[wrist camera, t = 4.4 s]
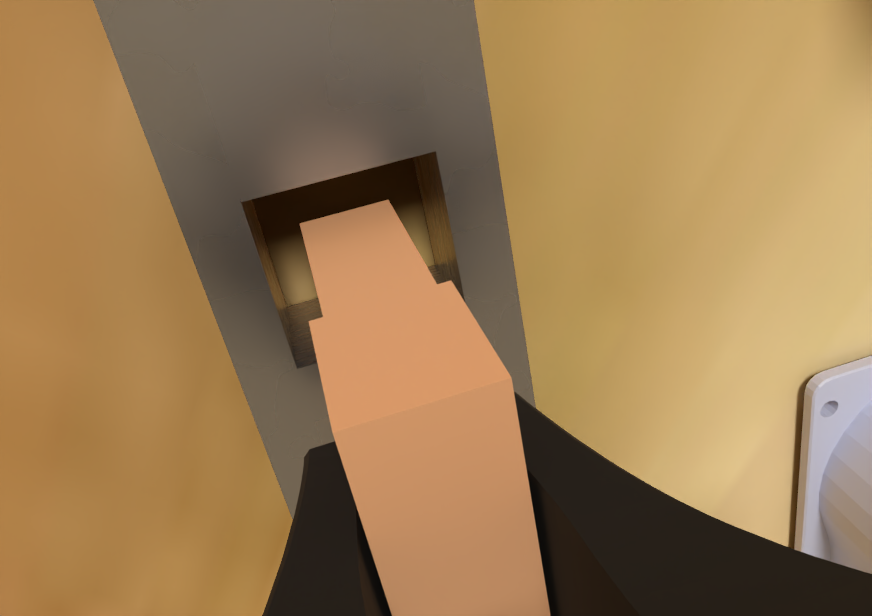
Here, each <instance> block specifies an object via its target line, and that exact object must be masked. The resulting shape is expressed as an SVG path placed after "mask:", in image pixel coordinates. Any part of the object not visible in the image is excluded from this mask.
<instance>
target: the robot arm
mask: <svg viewBox="0 0 872 616" xmlns="http://www.w3.org/2000/svg"><path fill="white" fill-rule="evenodd" d="M514 396H515V402H516V408H517V414H518V420H519V426H520V432H521V438H522V444H523V450H524V457H525V463H526V469H527V475H528V481H529V487H530V493H531V499H532V505H533V512H534V518H535V524H536V530H537V536H538V542H539V548H540V554H541V560H542V566H543V573H544V579H545V585H546V591H547V597H548V603H549V609H550V615H551V616H872V356H869V357H866V358H863V359H859V360H856V361H853V362H850V363H847V364H844V365H841V366H838V367H835V368H831V369H828V370H825V371H822V372H820V373H818V374H816V375H815V376H813V377H812V378H811V379H810V380H809V382H808V384H807V385H806V389H805V394H804V409H803V424H802V440H801V455H800V470H799V486H798V501H797V516H796V532H795V547H794V549H792V548H789V547H786V546H783V545H781V544H778V543H776V542H773V541H770V540H768V539H765V538H763V537H760V536H758V535H755V534H752V533H750V532H747V531H745V530H742V529H740V528H737V527H734V526H732V525H730V524H727V523H725V522H723V521H720V520H718V519H716V518H714V517H711V516H709V515H707V514H705V513H703V512H701V511H699V510H697V509H695V508H693V507H690V506H688V505H686V504H684V503H682V502H680V501H678V500H676V499H675V498H673V497H671V496H669V495H667V494H665V493H663V492H661V491H660V490H658V489H656V488H654V487H652V486H651V485H649V484H647V483H645V482H644V481H642V480H640V479H639V478H637V477H635V476H634V475H632V474H630V473H628V472H627V471H625V470H623V469H622V468H620V467H619V466H617V465H615V464H614V463H612V462H611V461H609V460H607V459H606V458H604V457H603V456H601V455H600V454H598V453H597V452H596V451H594V450H593V449H591V448H590V447H588V446H587V445H585V444H584V443H582V442H581V441H579V440H578V439H576V438H575V437H573V436H572V435H571V434H569V433H568V432H566V431H565V430H564V429H562V428H561V427H560V426H558V425H557V424H556V423H554V422H553V421H552V420H550V419H549V418H547V417H546V416H545V415H544V414H542V413H541V412H540V411H538V410H537V409H536V408H535V407H533V406H532V405H531V404H530V403H528V402H527V401H526V400H525V399H523V398H522V397H521V396H520V395H518V394H517V393H516V392H514ZM262 616H392V614H391V611H390V608H389V605H388V602H387V599H386V596H385V593H384V589H383V586H382V583H381V580H380V577H379V574H378V571H377V568H376V565H375V562H374V559H373V556H372V553H371V550H370V546H369V543H368V540H367V537H366V534H365V531H364V528H363V525H362V522H361V519H360V516H359V513H358V510H357V507H356V503H355V500H354V497H353V494H352V491H351V488H350V485H349V482H348V479H347V476H346V473H345V470H344V467H343V464H342V460H341V457H340V454H339V451H338V448H337V445H336V442H335V441H334V442H331V443H328V444H325V445H321V446H318V447H315V448H312V449H309V451H308V452H307V454H306V455H305V457H304V466H303V474H302V480H301V486H300V491H299V496H298V501H297V505H296V510H295V514H294V518H293V522H292V526H291V529H290V533H289V537H288V540H287V544H286V547H285V551H284V555H283V558H282V561H281V564H280V567H279V570H278V573H277V576H276V579H275V582H274V584H273V587H272V590H271V593H270V596H269V599H268V602H267V605H266V607H265V610H264V613H263V615H262Z"/></svg>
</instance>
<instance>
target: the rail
mask: <svg viewBox="0 0 872 616" xmlns="http://www.w3.org/2000/svg"><path fill="white" fill-rule="evenodd" d="M93 1H94V3H95V6H96V8H97V11H98V14H99V16H100V19H101V21H102V24H103V27H104V29H105V32H106V34H107V37H108V40H109V42H110V45H111V47H112V50H113V53H114V55H115V58H116V60H117V63H118V66H119V68H120V71H121V73H122V76H123V79H124V81H125V84H126V87H127V89H128V92H129V94H130V97H131V100H132V102H133V105H134V107H135V110H136V113H137V115H138V118H139V120H140V123H141V126H142V128H143V131H144V133H145V136H146V139H147V141H148V144H149V146H150V149H151V152H152V154H153V157H154V159H155V162H156V165H157V167H158V170H159V172H160V175H161V178H162V180H163V183H164V185H165V188H166V191H167V193H168V196H169V199H170V201H171V204H172V206H173V209H174V212H175V214H176V217H177V219H178V222H179V225H180V227H181V230H182V232H183V235H184V238H185V240H186V243H187V245H188V248H189V251H190V253H191V256H192V258H193V261H194V264H195V266H196V269H197V271H198V274H199V277H200V279H201V282H202V284H203V287H204V290H205V292H206V295H207V297H208V300H209V303H210V305H211V308H212V311H213V313H214V316H215V318H216V321H217V324H218V326H219V329H220V331H221V334H222V337H223V339H224V342H225V344H226V347H227V350H228V352H229V355H230V357H231V360H232V363H233V365H234V368H235V370H236V373H237V376H238V378H239V381H240V383H241V386H242V389H243V391H244V394H245V396H246V399H247V402H248V404H249V407H250V409H251V412H252V415H253V417H254V420H255V423H256V425H257V428H258V430H259V433H260V436H261V438H262V441H263V443H264V446H265V449H266V451H267V454H268V456H269V459H270V462H271V464H272V467H273V469H274V472H275V475H276V477H277V480H278V482H279V485H280V488H281V490H282V493H283V495H284V498H285V501H286V503H287V506H288V508H289V511H290V514H291V516H292V519H293V518H294V514H295V510H296V505H297V501H298V496H299V491H300V486H301V480H302V474H303V466H304V457H305V455H306V454H307V452H308V451H309V449H312V448H315V447H318V446H321V445H325V444H328V443H331V442H334V441H335V439H334V436H333V433H332V428H331V424H330V419H329V414H328V410H327V405H326V400H325V396H324V391H323V386H322V382H321V377H320V372H319V368H318V363H317V358H316V354H315V349H314V344H313V340H312V335H311V330H310V326H309V321H311V320H315V319H318V318H322V317H323V315H322V311H321V307H320V303H319V299H318V298H317V299H313V300H310V301H306V302H303V303H299V304H296V305H292V306H289V307H287V305H286V302H285V299H284V296H283V293H282V290H281V287H280V284H279V281H278V278H277V275H276V272H275V269H274V266H273V263H272V260H271V256H270V253H269V250H268V247H267V244H266V241H265V238H264V235H263V232H262V229H261V226H260V223H259V220H258V217H257V214H256V211H255V208H254V205H253V201H252V199H256V198H259V197H263V196H267V195H271V194H275V193H278V192H282V191H286V190H290V189H294V188H297V187H301V186H305V185H309V184H313V183H316V182H320V181H324V180H328V179H332V178H335V177H339V176H343V175H347V174H351V173H355V172H358V171H362V170H366V169H370V168H374V167H377V166H381V165H385V164H389V163H393V162H396V161H400V160H404V159H408V158H412V157H413V160H414V165H415V170H416V174H417V179H418V184H419V189H420V194H421V198H422V203H423V208H424V213H425V218H426V222H427V227H428V232H429V237H430V241H431V246H432V251H433V256H434V261H435V265H434V266H430V267H428V269H429V271H430V273H431V274H432V276H433V278H434V280H435V281H436V283H437V284H440V283H444V282H447V281H452V282H453V284H454V286H455V287H456V289H457V291H458V292H459V294H460V295H461V297H462V299H463V300H464V302H465V303H466V305H467V307H468V308H469V310H470V311H471V313H472V315H473V316H474V318H475V320H476V321H477V323H478V324H479V326H480V328H481V329H482V331H483V332H484V334H485V336H486V337H487V339H488V340H489V342H490V344H491V345H492V347H493V349H494V350H495V352H496V353H497V355H498V357H499V358H500V360H501V361H502V363H503V365H504V366H505V368H506V369H507V371H508V373H509V374H510V376H511V378H512V383H513V389H514V392H516V393H517V394H518V395H520V396H521V397H522V398H523V399H525V400H526V401H527V402H528V403H530V404H531V405H532V406H533V407H535V400H534V394H533V387H532V380H531V374H530V367H529V361H528V354H527V347H526V341H525V334H524V328H523V321H522V315H521V308H520V301H519V295H518V288H517V282H516V275H515V269H514V262H513V255H512V249H511V242H510V236H509V229H508V223H507V216H506V209H505V203H504V196H503V190H502V183H501V177H500V170H499V163H498V157H497V150H496V144H495V137H494V130H493V124H492V117H491V111H490V104H489V98H488V91H487V84H486V78H485V71H484V65H483V58H482V52H481V45H480V38H479V32H478V25H477V19H476V12H475V6H474V0H93ZM535 408H536V407H535Z"/></svg>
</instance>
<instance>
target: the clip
mask: <svg viewBox="0 0 872 616" xmlns="http://www.w3.org/2000/svg"><path fill="white" fill-rule="evenodd" d="M300 227H301V231H302V235H303V239H304V243H305V247H306V251H307V255H308V259H309V263H310V267H311V271H312V275H313V279H314V283H315V287H316V291H317V295H318V299H319V303H320V307H321V311H322V315H323V317H322V318H318V319H315V320H311V321H309V326H310V330H311V335H312V340H313V344H314V349H315V354H316V358H317V363H318V368H319V372H320V377H321V382H322V386H323V391H324V396H325V400H326V405H327V410H328V414H329V419H330V424H331V428H332V433H333V436H334V439H335V442H336V445H337V448H338V451H339V454H340V457H341V460H342V464H343V467H344V470H345V473H346V476H347V479H348V482H349V485H350V488H351V491H352V494H353V497H354V500H355V503H356V507H357V510H358V513H359V516H360V519H361V522H362V525H363V528H364V531H365V534H366V537H367V540H368V543H369V546H370V550H371V553H372V556H373V559H374V562H375V565H376V568H377V571H378V574H379V577H380V580H381V583H382V586H383V589H384V593H385V596H386V599H387V602H388V605H389V608H390V611H391V614H392V616H551V615H550V609H549V603H548V597H547V591H546V585H545V579H544V573H543V566H542V560H541V554H540V548H539V542H538V536H537V530H536V524H535V518H534V512H533V505H532V499H531V493H530V487H529V481H528V475H527V469H526V463H525V457H524V450H523V444H522V438H521V432H520V426H519V420H518V414H517V408H516V402H515V396H514V389H513V383H512V378H511V376H510V374H509V373H508V371H507V369H506V368H505V366H504V365H503V363H502V361H501V360H500V358H499V357H498V355H497V353H496V352H495V350H494V349H493V347H492V345H491V344H490V342H489V340H488V339H487V337H486V336H485V334H484V332H483V331H482V329H481V328H480V326H479V324H478V323H477V321H476V320H475V318H474V316H473V315H472V313H471V311H470V310H469V308H468V307H467V305H466V303H465V302H464V300H463V299H462V297H461V295H460V294H459V292H458V291H457V289H456V287H455V286H454V284H453V282H452V281H447V282H444V283H440V284H437V283H436V281H435V280H434V278H433V276H432V274H431V273H430V271H429V269H428V267H427V266H426V264H425V262H424V261H423V259H422V257H421V255H420V254H419V252H418V250H417V248H416V247H415V245H414V243H413V242H412V240H411V238H410V236H409V235H408V233H407V231H406V229H405V228H404V226H403V224H402V222H401V221H400V219H399V217H398V216H397V214H396V212H395V210H394V209H393V207H392V205H391V203H390V202H389V200H385V201H381V202H377V203H374V204H370V205H366V206H362V207H359V208H355V209H351V210H348V211H344V212H340V213H337V214H333V215H329V216H325V217H322V218H318V219H314V220H311V221H307V222H303V223H300Z"/></svg>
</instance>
